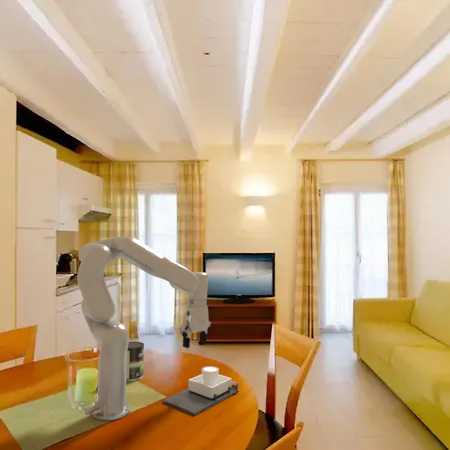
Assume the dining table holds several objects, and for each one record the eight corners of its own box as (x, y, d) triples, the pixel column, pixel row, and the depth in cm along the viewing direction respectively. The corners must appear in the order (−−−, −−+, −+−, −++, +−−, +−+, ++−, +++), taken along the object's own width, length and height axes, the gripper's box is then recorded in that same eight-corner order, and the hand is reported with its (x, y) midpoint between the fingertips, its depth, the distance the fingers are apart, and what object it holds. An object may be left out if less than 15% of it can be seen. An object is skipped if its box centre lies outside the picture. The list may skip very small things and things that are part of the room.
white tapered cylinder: (198, 388, 148) (198, 370, 149) (206, 382, 155) (206, 364, 155) (213, 391, 145) (213, 373, 146) (221, 385, 152) (221, 367, 152)
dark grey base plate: (194, 415, 131) (194, 405, 131) (163, 402, 141) (163, 392, 141) (238, 391, 152) (238, 383, 152) (208, 381, 161) (208, 373, 162)
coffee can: (145, 372, 170) (146, 341, 171) (140, 381, 160) (140, 348, 160) (123, 372, 170) (123, 340, 171) (116, 381, 160) (116, 347, 160)
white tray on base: (213, 399, 141) (213, 388, 141) (187, 389, 149) (187, 379, 150) (232, 389, 151) (233, 378, 151) (207, 380, 159) (207, 370, 159)
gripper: (188, 305, 144) (185, 351, 143) (218, 302, 157) (215, 343, 156) (175, 303, 149) (172, 347, 148) (204, 299, 162) (202, 340, 161)
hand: (194, 345), depth 152 cm, fingers open, 9 cm apart
